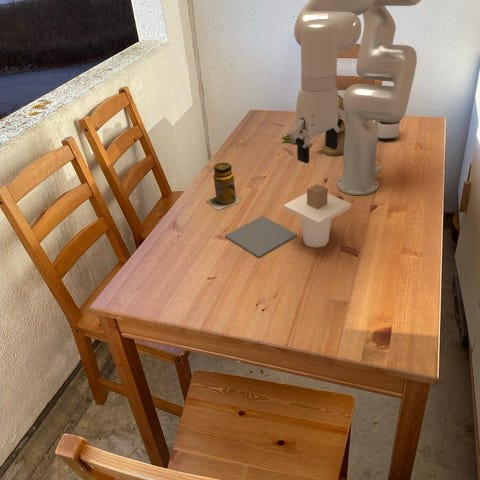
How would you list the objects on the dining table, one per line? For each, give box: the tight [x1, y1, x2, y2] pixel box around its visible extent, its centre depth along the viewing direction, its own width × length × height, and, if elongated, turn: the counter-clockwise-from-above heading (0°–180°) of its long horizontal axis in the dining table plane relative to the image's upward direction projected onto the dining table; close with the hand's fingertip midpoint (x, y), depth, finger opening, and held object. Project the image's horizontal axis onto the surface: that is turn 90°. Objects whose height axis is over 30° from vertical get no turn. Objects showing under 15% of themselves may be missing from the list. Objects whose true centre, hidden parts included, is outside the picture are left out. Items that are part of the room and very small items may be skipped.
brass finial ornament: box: [321, 94, 345, 157], centre depth 168 cm, size 9×14×18 cm, turn 170°
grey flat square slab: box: [224, 215, 298, 259], centre depth 129 cm, size 14×14×1 cm
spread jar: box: [373, 120, 401, 142], centre depth 175 cm, size 12×11×12 cm
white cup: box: [300, 218, 332, 248], centre depth 123 cm, size 8×8×10 cm
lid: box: [283, 183, 352, 227], centre depth 119 cm, size 12×12×6 cm
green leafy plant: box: [282, 133, 306, 145], centre depth 182 cm, size 12×12×5 cm
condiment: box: [205, 162, 242, 211], centre depth 144 cm, size 7×8×12 cm
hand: (317, 154), depth 112 cm, fingers open, 9 cm apart
